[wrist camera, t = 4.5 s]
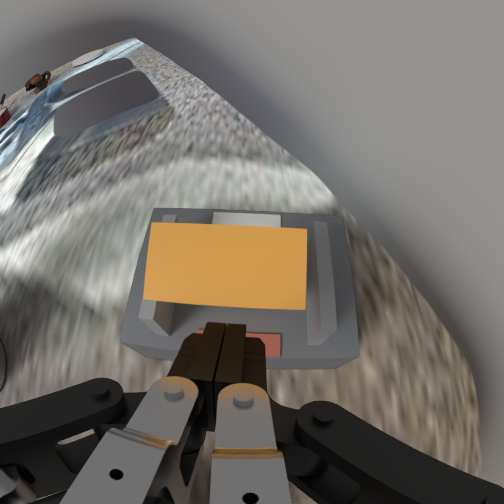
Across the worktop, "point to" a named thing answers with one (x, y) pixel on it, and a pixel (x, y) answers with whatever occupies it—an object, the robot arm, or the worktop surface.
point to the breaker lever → (227, 266)
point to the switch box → (259, 320)
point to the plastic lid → (87, 57)
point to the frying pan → (3, 112)
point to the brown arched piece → (38, 82)
